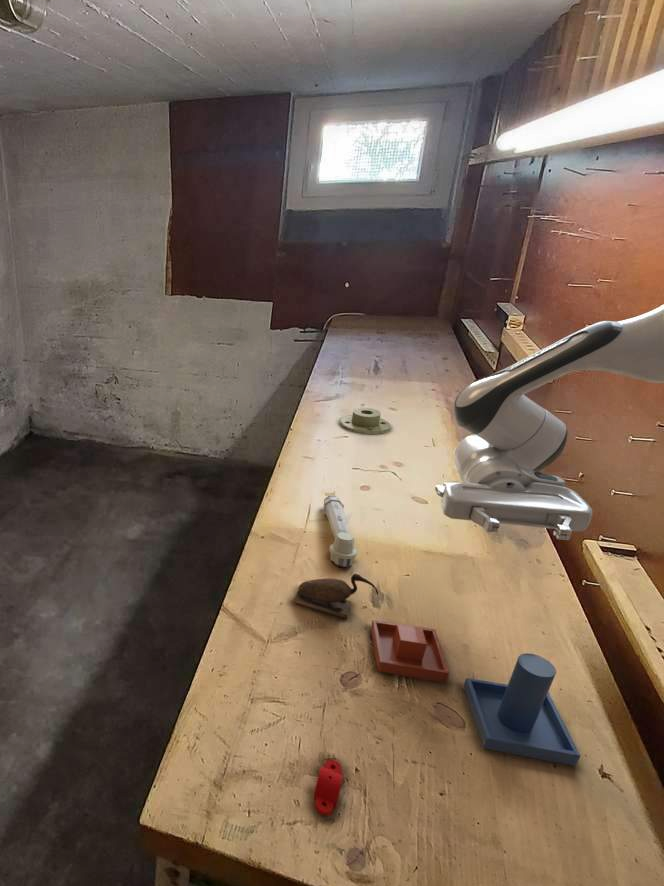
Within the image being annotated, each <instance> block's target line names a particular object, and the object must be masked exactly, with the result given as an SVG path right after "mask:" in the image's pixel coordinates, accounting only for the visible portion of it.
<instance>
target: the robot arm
mask: <svg viewBox="0 0 664 886" xmlns="http://www.w3.org/2000/svg"><path fill="white" fill-rule="evenodd" d="M583 371H593V372H594V371H595V372H602V373H607V374H613V375H618V376H622V377H625V378H628V379H632V380H635V381H638V382H642V383H650V384H659V385H664V303H663V304H662V305H660V306H657V307H656V308H654V309H652V310H650V311H648V312H645V313H643V314H640V315H637V316H634V317H631V318H627V319H623V320H618V321H613V320H603V321H598V322H595V323H593V324H591V325H589V326H586V327H584V328H582V329H579V330H577V331H575V332H572V333H571V334H569V335H567V336H565V337H563V338H562V339H559V340H558V341H556V342H554V343H552V344H550V345H548V346H546V347H544V348H542V349H539V351H537V352H534V353H533V354H530V355H528V356H527V357H526V358H523V359H521V360H520V361H518V362H516V363H513V364H512V365H510V366H508V367H506V368H504V369H502V370H499V371H497V372H494V373H492V374H488V375H486V376H484V377H481V378H478V379H477V380H474V381H472V382H471V383H470V384H468V385H467V386H465V387H464V388H463V389H462V390H461V391H460V392H459V393H458V395H457V396H456V398H455V400H454V406H453V411H454V418H455V422H456V424H457V426H458V427H460V428H462V429H464V430H466V431H468V432H469V433H471V434H470V435H468V436H466V437H464V438H462V439H461V440H460V441H459V442H458V444H457V445H456V447H455V449H454V454H453V465H454V467H455V470H456V473H457V474H458V477H459V478H460V481H447V482H443V483H442V484H437V485H435V487H434V490H435V493H436V494H437V496H439V498H440V497H441V501H440V505H441V510H442V514H443V515H444V516H446V517H447V518H449V519H451V520H460V521H461V520H462V521H469V522H473V523H474V524H476V525H478V526H480V527H482V528H483V529H484V531H485V532H486V533H495V534H498V532H499V529H500V525H509V526H510V525H512V526H523V527H533V528H540V529H541V528H542V529H551V530H552V529H553V530H554V531H553V533H552V534H553V536H554V537H555V539H557V540H560V541H561V540H563V541H570V540H571V538H572V535H573V532H581V533H582V532H584V531H586V530H587V529H588V527H589V526H590V524H591V521H592V518H593V514H594V512H593V511H594V510H593V508H592V507H591V506H590V505H589V503H588V502H587V501H586V500H585V499H583V497H582V496H581V495H580V494H578V493H577V492H576V491H575V490H573V489H571V488H569V487H567V486H566V480H565V479H563V478H562V477H561V476H558V475H552V474H548V473H543V472H541V471H542V470H544V469H545V468H547V467H548V466H551V464H552V463H554V461H556V460H557V459H558V458H559V457H560V456H561V454H562V453H563V451H564V449H565V447H566V444H567V442H568V441H567V440H568V434H569V433H568V427H567V424H566V423H565V422H564V421H562V420H561V419H560V418H558V417H557V416H556V415H554V414H553V413H552V412H550V411H549V410H548V409H546V408H544V407H543V406H540V405H539V404H538V403H536V402H535V401H533V400H532V399H530V397H527V395H526V394H527V393H530V392H532V391H534V390H536V389H538V388H540V387H542V386H544V385H546V384H549V383H551V382H553V381H555V380H557V379H560V378H562V377H563V376H565V375H568V374H571V373H575V372H583Z"/></svg>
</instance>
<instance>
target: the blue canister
mask: <svg viewBox="0 0 664 886" xmlns="http://www.w3.org/2000/svg"><path fill="white" fill-rule="evenodd" d="M556 674H557V669H556V667H555V666H554V664H553V663H551V662H550V661H549V660H548V659H546V658H545V657H543V656H541V655H537V654H534V653H521V654H519V656H517V659H516V662H515V664H514V667H513V671H512V673H511V675H510V679H509V681H508V683H507V685H508V686H507V689H506V691H505V694H504V697H503V699H502V702H501V705H500V707H499V710H498V713H497V714H498V718H499V720H500V721H501V722H502V723H503V724H504V725H505V726H506V727H508V728H509V729H511V730H513V731H516V732H519V733H528V732H530V731H531V730H532V729H533V727H534V724H535V722H536V719H537V717H538V715H539V712H540V710H541V708H542V705H543V703H544V700H545V698H546V696H547V693H548V692H549V690H550V689H551V686H552V684H553V682H554V679H555V677H556Z"/></svg>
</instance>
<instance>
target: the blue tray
mask: <svg viewBox="0 0 664 886" xmlns="http://www.w3.org/2000/svg"><path fill="white" fill-rule="evenodd" d="M507 686H508V683H507V684H506V683H500V682H494V681H488V680H483V679H476V678H471V677H465V680H464V684H463V687H462V689H463V691H464V694H465V698H466V700H467V703H468V706H469V709H470V713H471V714H472V717H473V720H474V724H475V726H476V730H477V733H478V735H479V740H480V742H481V744H482V748H483V749H486V750H490V751H491V750H492V751H495V752H502V753H506V754H512V755H516V756H521V757H522V756H523V757H527V758H531V759H532V758H533V759H538V760H543V761H547V762H554V763H558V764H564V765H567V766H568V765H569V766H574V767H576V766H577V764H578V762H579V760H580V758H581V754H580V752H579V750H578V748H577V746H576V744H575V742H574V740H573V738H572V736H571V734H570V732H569V730H568V728H567V726H566V723H565V722H564V720H563V718H562V716H561V714H560V711H559V710H558V708H557V706H556V704H555V702H554V700H553V698H552V696H551V694H550V692H549V691H548V693H547V696H546V698H545V700H544V703H543V705H542V708H541V710H540V712H539V715H538V717H537V719H536V722H535V724H534V727H533V729H532V730H531V731H530V732H528V733H519V732H516V731H513V730H511V729H509V728H508V727H506V726H505V725H504V724H503V723H502V722H501V721H500V720H499V718H498V714H497V713H498V710H499V707H500V705H501V702H502V699H503V697H504V694H505V691H506V689H507Z"/></svg>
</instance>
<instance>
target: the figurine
mask: <svg viewBox="0 0 664 886" xmlns="http://www.w3.org/2000/svg"><path fill="white" fill-rule="evenodd" d="M350 582H351V585H352V587H353V588H352V587H351V586H350V585H349V584H348V583H347V582H346V581H344V580H342V579H338V578H318V579H310V580H306V581H303V582H301V583H300V584H299V585H298V588H297V592H296V594H295V596H294V598H293V603H295V604H298V605H302V606H304V607H308V608H311V609H314V610H318V611H322V612H324V613H328V614H330V615H334V616H337V617H341V618H343V619H348V615H349V612H350V609H351V606H352V601H350V600H347V599H349V598H350V597H351V596H352V595H354V594H355V593H356V592H357V590H358V586H357V584H356V582H362V583H365V584H367V585H369V586H371V587H373V589H374V590H375V593H376V595H379V591H378V588H377V586H376V585H374V583H372V582H371V581H369V580H367V579H366V578H364V577H362V576H361V575H360V574H358V573H354V574H352V575H351V577H350Z"/></svg>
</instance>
